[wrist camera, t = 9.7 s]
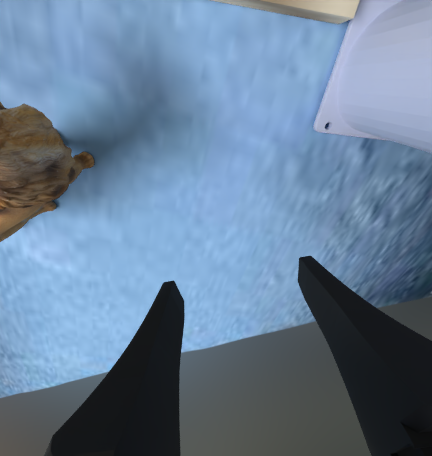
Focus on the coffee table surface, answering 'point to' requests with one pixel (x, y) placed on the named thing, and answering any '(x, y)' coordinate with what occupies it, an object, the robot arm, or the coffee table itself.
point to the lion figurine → (32, 166)
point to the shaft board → (305, 8)
